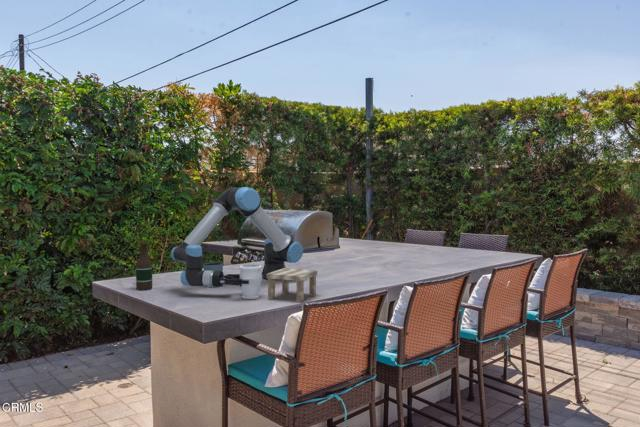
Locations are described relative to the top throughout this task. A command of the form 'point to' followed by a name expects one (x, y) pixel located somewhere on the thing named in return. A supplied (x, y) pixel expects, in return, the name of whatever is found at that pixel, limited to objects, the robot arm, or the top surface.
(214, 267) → the teal plant pot
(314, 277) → the stool
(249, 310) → the top surface
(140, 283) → the beer bottle
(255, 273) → the jar
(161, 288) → the top surface
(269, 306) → the top surface
